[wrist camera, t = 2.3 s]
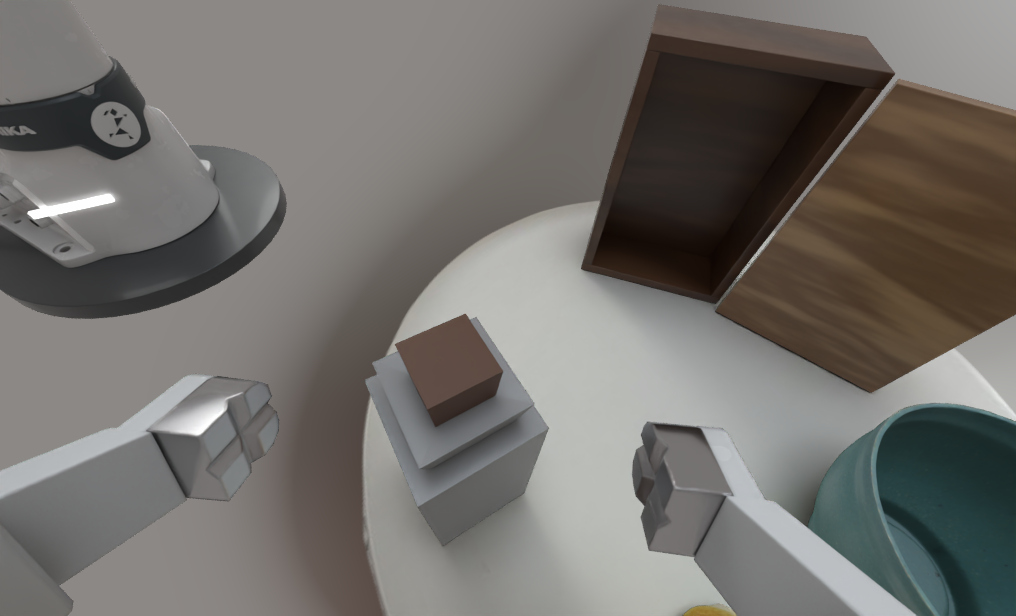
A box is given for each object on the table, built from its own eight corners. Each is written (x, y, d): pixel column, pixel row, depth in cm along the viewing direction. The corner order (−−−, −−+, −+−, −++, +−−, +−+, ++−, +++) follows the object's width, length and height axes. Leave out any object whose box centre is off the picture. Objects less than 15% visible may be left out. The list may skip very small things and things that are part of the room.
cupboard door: (732, 278, 44) (905, 55, 26) (878, 349, 39) (1215, 134, 21) (715, 311, 41) (897, 83, 23) (871, 393, 36) (1258, 183, 18)
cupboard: (715, 304, 42) (896, 73, 24) (581, 269, 44) (651, 32, 26) (714, 260, 46) (866, 36, 28) (591, 230, 48) (658, 4, 30)
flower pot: (977, 513, 30) (1175, 476, 22) (1060, 813, 21) (1464, 959, 12) (761, 424, 34) (857, 362, 25) (750, 647, 24) (896, 670, 16)
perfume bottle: (442, 546, 27) (399, 479, 13) (405, 459, 30) (338, 330, 16) (524, 492, 29) (564, 386, 15) (481, 418, 33) (481, 273, 18)
